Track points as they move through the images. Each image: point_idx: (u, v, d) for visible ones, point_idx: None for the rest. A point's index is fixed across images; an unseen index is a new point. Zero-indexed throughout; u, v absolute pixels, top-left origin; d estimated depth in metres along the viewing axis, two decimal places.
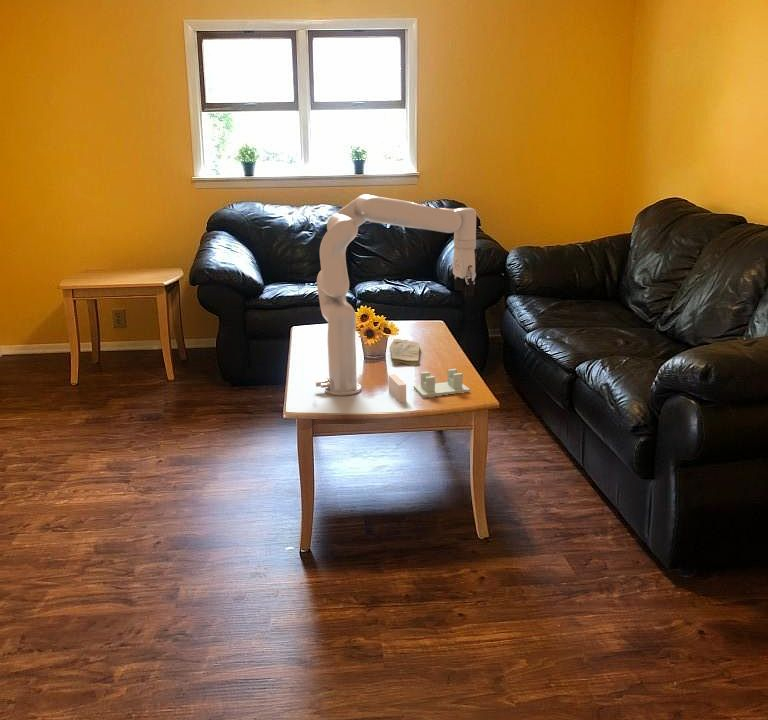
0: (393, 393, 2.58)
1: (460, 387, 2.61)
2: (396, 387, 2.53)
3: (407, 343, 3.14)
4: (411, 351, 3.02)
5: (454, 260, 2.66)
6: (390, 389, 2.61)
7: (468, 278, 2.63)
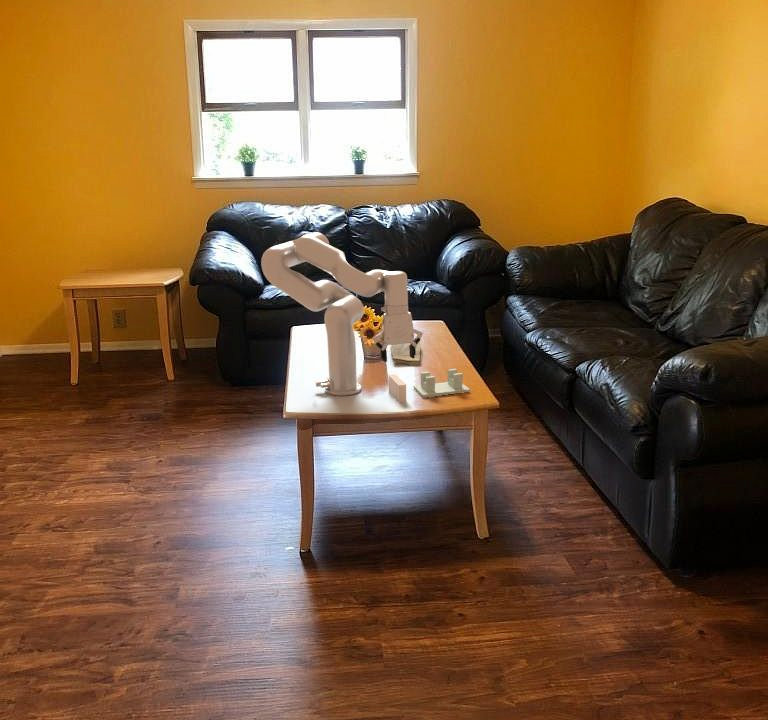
0: (393, 393, 2.58)
1: (460, 387, 2.61)
2: (396, 387, 2.53)
3: (408, 343, 3.13)
4: None
5: (391, 329, 2.48)
6: (390, 389, 2.61)
7: None
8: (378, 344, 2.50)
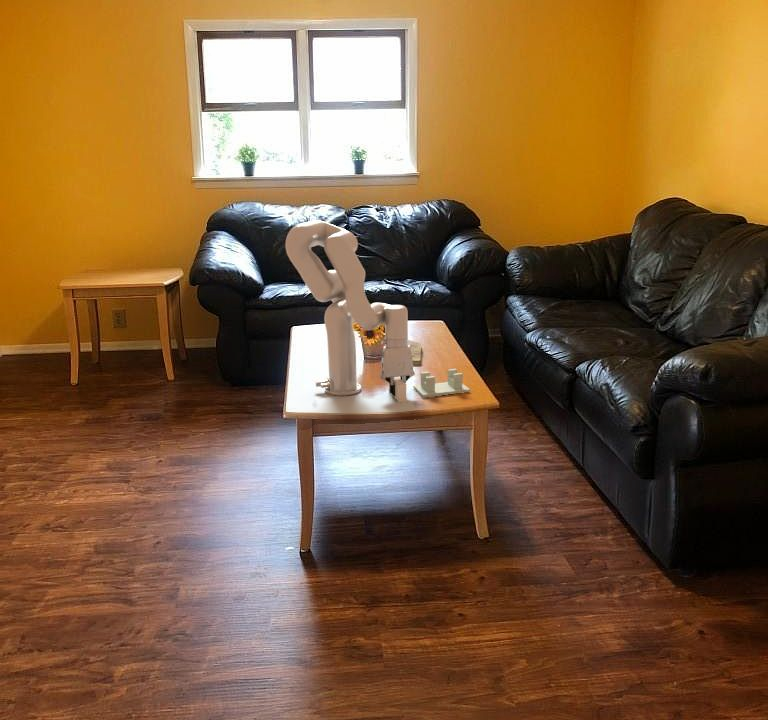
0: None
1: (460, 387, 2.61)
2: (397, 387, 2.53)
3: (409, 343, 3.13)
4: (413, 351, 3.02)
5: (391, 362, 2.51)
6: None
7: (401, 375, 2.56)
8: (387, 379, 2.54)
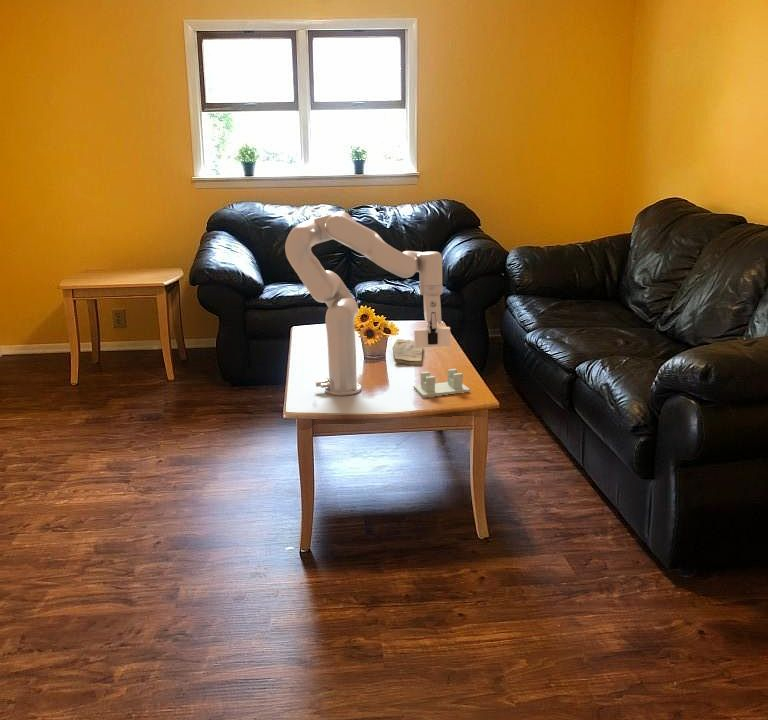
0: None
1: (460, 387, 2.61)
2: (443, 333, 2.54)
3: (410, 343, 3.13)
4: (414, 351, 3.02)
5: None
6: (421, 343, 2.55)
7: (431, 322, 2.56)
8: (435, 327, 2.51)
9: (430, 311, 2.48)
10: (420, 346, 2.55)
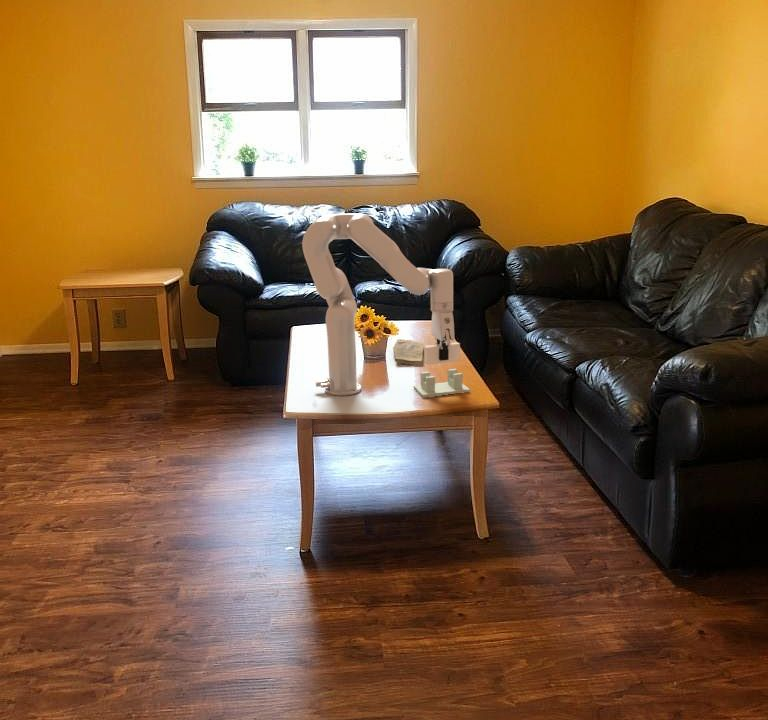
0: None
1: (460, 387, 2.61)
2: (453, 348, 2.58)
3: (411, 343, 3.13)
4: (415, 351, 3.02)
5: None
6: (433, 360, 2.57)
7: None
8: None
9: (444, 328, 2.51)
10: (432, 362, 2.57)
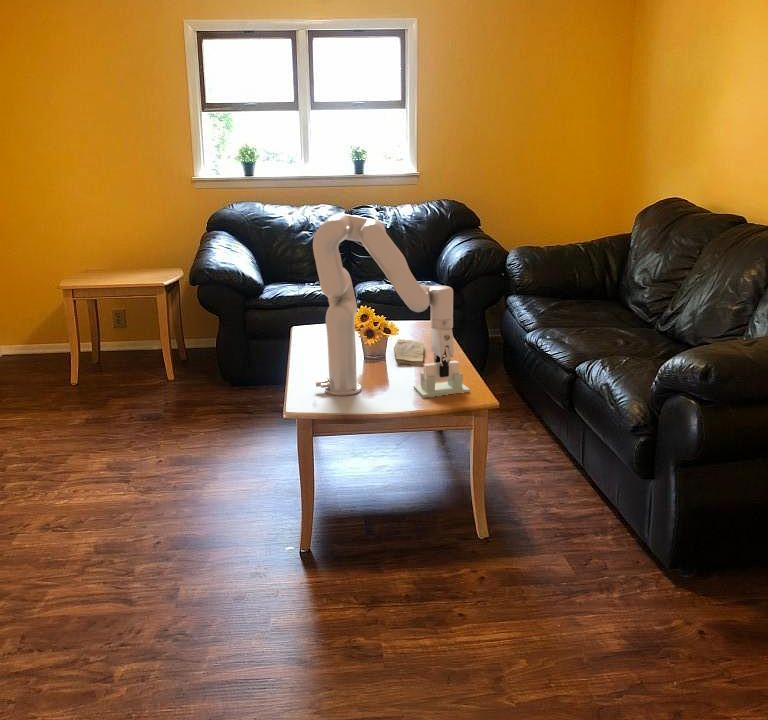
0: (441, 377, 2.60)
1: (460, 387, 2.61)
2: (452, 367, 2.60)
3: (411, 343, 3.13)
4: (415, 351, 3.02)
5: None
6: None
7: None
8: None
9: (444, 344, 2.52)
10: None
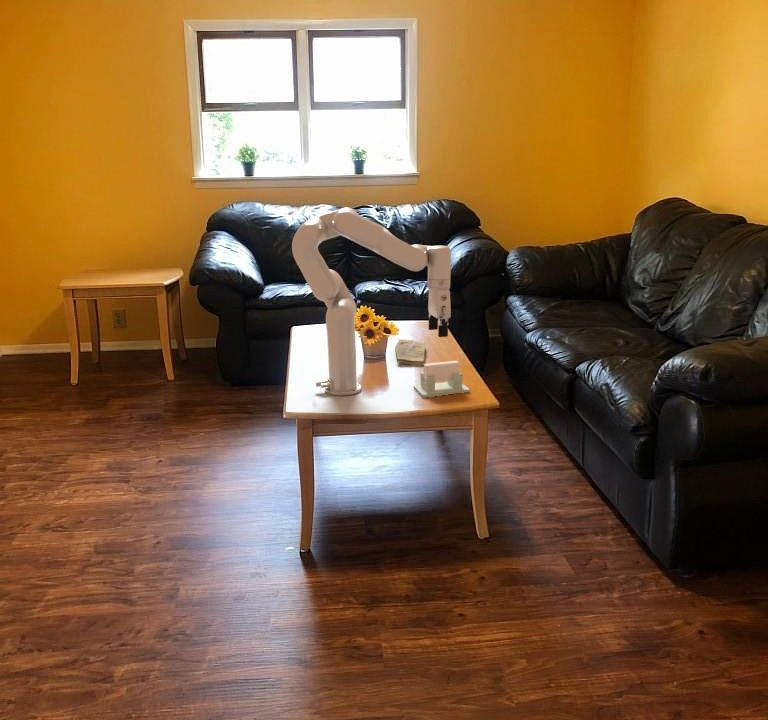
0: (441, 377, 2.60)
1: (460, 387, 2.61)
2: (452, 367, 2.60)
3: (412, 343, 3.13)
4: (416, 351, 3.01)
5: None
6: None
7: None
8: None
9: (441, 305, 2.49)
10: None
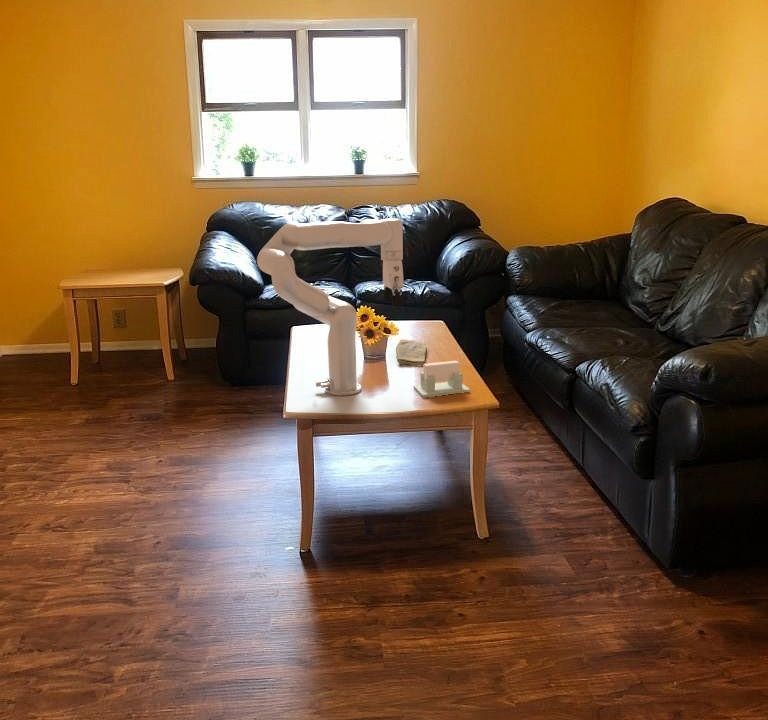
0: (441, 377, 2.60)
1: (460, 387, 2.61)
2: (452, 367, 2.60)
3: (414, 344, 3.13)
4: (417, 352, 3.01)
5: None
6: None
7: None
8: None
9: (393, 275, 2.59)
10: None
